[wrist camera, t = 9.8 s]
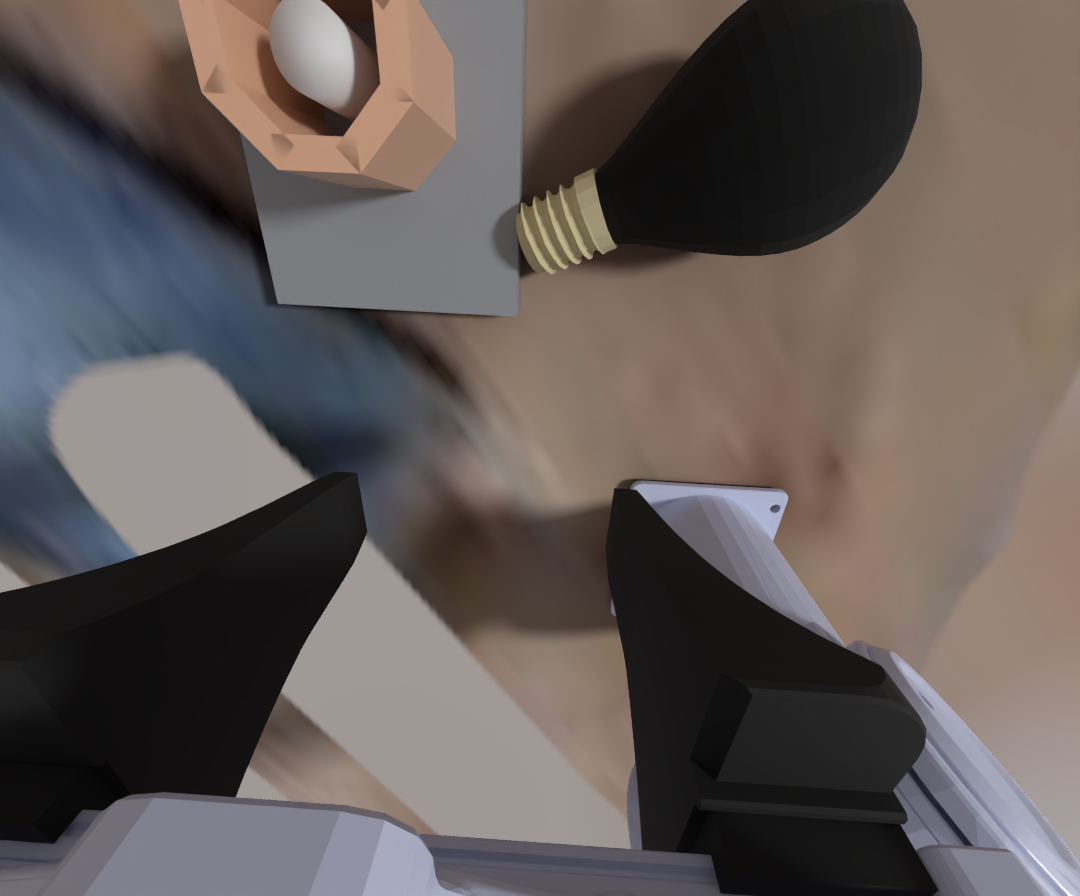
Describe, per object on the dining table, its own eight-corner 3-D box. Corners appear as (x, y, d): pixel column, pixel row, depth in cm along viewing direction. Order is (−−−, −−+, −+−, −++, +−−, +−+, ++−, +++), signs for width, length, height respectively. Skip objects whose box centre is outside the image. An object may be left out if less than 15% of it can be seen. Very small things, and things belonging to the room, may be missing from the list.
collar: (487, 101, 14) (456, 44, 10) (388, 223, 16) (326, 219, 12) (342, -86, 13) (229, -252, 8) (249, 75, 14) (116, 7, 10)
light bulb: (487, 292, 13) (1018, 81, 8) (460, 100, 14) (924, -193, 9) (567, 351, 19) (897, 250, 14) (544, 215, 20) (848, 77, 15)
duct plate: (519, 312, 19) (505, 338, 14) (294, 299, 19) (201, 322, 14) (530, -189, 12) (511, -465, 7) (191, -200, 12) (-42, -476, 8)
